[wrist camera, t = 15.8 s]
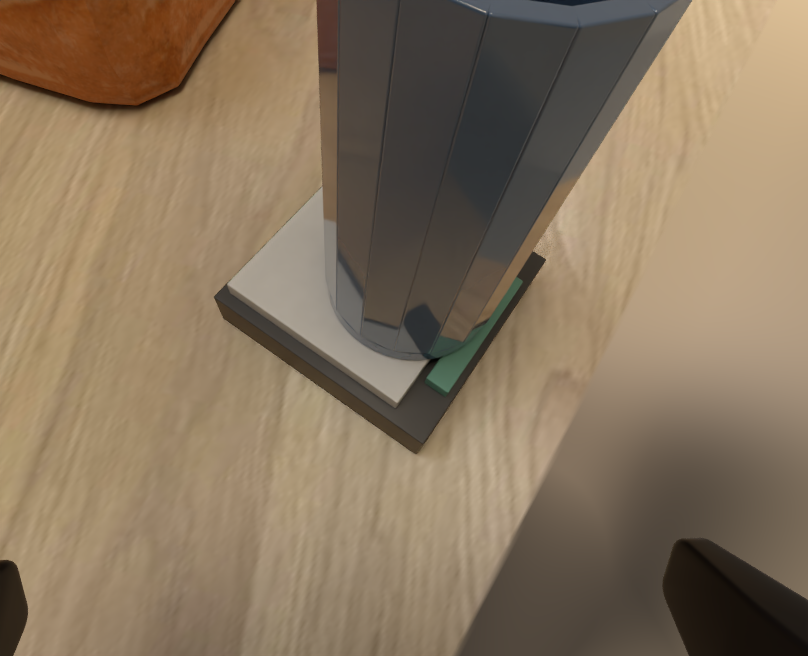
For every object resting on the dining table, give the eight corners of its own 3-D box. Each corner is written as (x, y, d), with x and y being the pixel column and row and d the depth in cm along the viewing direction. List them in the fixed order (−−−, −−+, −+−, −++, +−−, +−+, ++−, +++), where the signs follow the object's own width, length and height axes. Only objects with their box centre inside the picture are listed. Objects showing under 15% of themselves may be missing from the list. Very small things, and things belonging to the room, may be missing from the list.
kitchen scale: (531, 280, 26) (553, 249, 23) (415, 454, 22) (426, 440, 19) (360, 172, 27) (363, 131, 24) (222, 317, 23) (208, 287, 21)
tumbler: (496, 367, 21) (758, 50, 8) (319, 354, 20) (291, -13, 7) (490, 220, 23) (678, -194, 11) (334, 205, 23) (333, -255, 10)
